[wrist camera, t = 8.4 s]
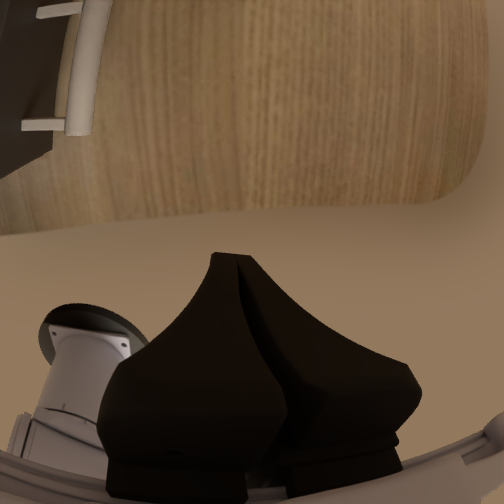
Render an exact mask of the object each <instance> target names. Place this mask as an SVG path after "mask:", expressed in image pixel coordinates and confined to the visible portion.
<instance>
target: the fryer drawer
mask: <svg viewBox="0 0 504 504" xmlns="http://www.w3.org/2000/svg"><path fill="white" fill-rule="evenodd" d="M72 1H73V0H0V178H1V177H3V176H4V175H6V174H8V173H9V172H11V171H13V170H15V169H16V168H18V167H20V166H22V165H23V164H25V163H27V162H29V161H31V160H33V159H35V158H36V157H38V156H40V155H42V154H44V153H46V152H48V151H50V150H52V143H53V130H65V135H68V136H83V135H89V134H91V133H92V126H93V114H94V105H95V96H96V88H97V81H98V74H99V67H100V61H101V55H102V50H103V44H104V39H105V34H106V30H107V25H108V21H109V16H110V12H111V8H112V4H113V0H85V1H77V2H72ZM73 14H82V15H81V19H80V24H79V28H78V33H77V38H76V43H75V49H74V55H73V61H72V67H71V74H70V81H69V90H68V99H67V109H66V117H54V108H55V97H56V87H57V79H58V72H59V65H60V58H61V52H62V47H63V41H64V36H65V31H66V26H67V22H68V18H69V15H73Z"/></svg>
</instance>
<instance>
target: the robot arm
mask: <svg viewBox="0 0 504 504" xmlns="http://www.w3.org/2000/svg"><path fill="white" fill-rule="evenodd" d="M49 332H50V335H51V339H52V342H53V345H54V348H55V352H56V355H55V358H54V360H53V363H52V365H51V368H50V371H49V374H48V376H47V379H46V382H45V385H44V387H43V390H42V393H41V396H40V399H39V402H38V405H37V407H36V410H35V412H34V415H33V417H32V419H31V414H29V413H27V412H24V414H20V415H18V416H17V418H16V421H15V424H14V427H13V430H12V433H11V437H10V440H9V444H8V448H7V451H6V452H4V451H2V450H0V504H480V502H481V500H482V499H484V498H485V497H487V496H488V495H489V494H491V493H492V492H493V491H495V490H496V489H498V488H499V487H500V486H501V485H503V484H504V412H502V413H500V414H499V415H497V416H496V417H494V418H493V419H492V420H491V421H490V422H489V423H488V424H487V425H486V426H485V427H484V429H483V430H481V431H479V432H477V433H474V434H472V435H470V436H468V437H466V438H464V439H461V440H459V441H457V442H454V443H452V444H449V445H447V446H444V447H442V448H439V449H437V450H434V451H431V452H428V453H426V454H423V455H420V456H417V457H414V458H411V459H408V460H405V461H402V462H401V461H400V459H399V457H398V454H397V452H396V450H395V446H397V445H398V444H399V439H398V437H397V435H396V433H395V432H396V431H397V430H398V429H399V428H400V427H401V426H402V424H403V423H404V422H405V421H406V420H407V419H408V418H409V417H410V416H411V415H412V413H413V412H414V411H415V409H416V408H417V407H418V405H419V402H420V400H421V397H422V389H421V387H420V386H419V384H418V382H417V380H416V379H415V377H414V375H413V373H412V372H411V370H410V368H409V367H408V365H407V364H405V363H402V362H399V361H397V360H394V359H392V358H389V357H386V356H383V355H381V354H378V353H375V352H374V351H371V350H369V349H367V348H365V347H363V346H361V345H359V344H357V343H355V342H353V341H351V340H349V339H348V338H346V337H344V336H342V335H341V334H339V333H337V332H336V331H334V330H332V329H331V328H329V327H328V326H326V325H324V324H323V323H321V322H320V321H319V320H318V319H316V318H315V317H313V316H312V315H311V314H310V313H308V312H307V311H306V310H304V309H303V308H302V307H301V306H299V305H298V304H297V303H296V302H295V301H294V300H293V299H292V298H290V297H289V296H288V295H287V294H286V293H285V292H284V291H283V290H282V289H281V288H280V287H279V286H278V285H277V284H276V283H275V282H274V281H273V280H272V279H271V277H270V276H269V275H268V274H267V273H266V272H265V271H264V270H263V269H262V268H261V266H260V265H259V264H258V263H257V262H256V261H255V260H254V259H253V258H252V257H251V256H250V255H239V254H230V253H221V252H214V253H213V254H212V255H211V259H210V266H209V269H208V271H207V274H206V276H205V278H204V280H203V282H202V284H201V285H200V287H199V288H198V290H197V292H196V293H195V295H194V296H193V298H192V299H191V301H190V302H189V303H188V305H187V306H186V307H185V308H184V310H183V311H182V312H181V313H180V314H179V316H178V317H177V318H176V319H175V320H174V321H173V322H172V323H171V324H170V325H169V326H168V327H167V328H166V329H165V330H164V331H163V332H161V333H160V334H159V335H158V336H157V337H156V338H154V339H153V340H152V341H151V342H150V343H148V344H147V345H146V346H144V347H143V348H142V349H140V350H139V351H137V352H135V353H134V354H132V355H131V351H130V340H129V337H128V336H127V335H124V334H116V333H109V332H102V331H95V330H89V329H83V328H77V327H71V326H65V325H59V324H54V323H51V324H50V325H49ZM123 343H125V344H123Z"/></svg>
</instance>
